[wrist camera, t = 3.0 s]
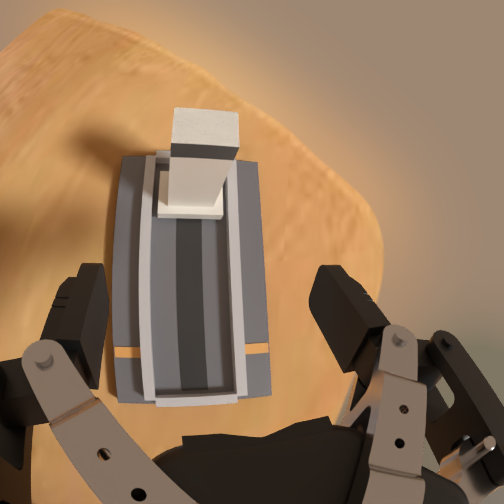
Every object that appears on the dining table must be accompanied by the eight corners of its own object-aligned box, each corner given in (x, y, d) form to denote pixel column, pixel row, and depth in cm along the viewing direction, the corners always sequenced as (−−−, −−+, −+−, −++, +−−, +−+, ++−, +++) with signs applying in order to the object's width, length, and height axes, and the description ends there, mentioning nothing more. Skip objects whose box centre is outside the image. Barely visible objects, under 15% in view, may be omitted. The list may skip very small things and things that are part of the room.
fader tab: (157, 217, 23) (155, 152, 14) (160, 176, 24) (162, 99, 15) (221, 219, 24) (253, 158, 15) (220, 179, 25) (250, 106, 16)
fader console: (119, 399, 20) (116, 406, 18) (124, 161, 24) (121, 149, 23) (267, 392, 23) (275, 397, 21) (254, 167, 28) (260, 156, 26)
